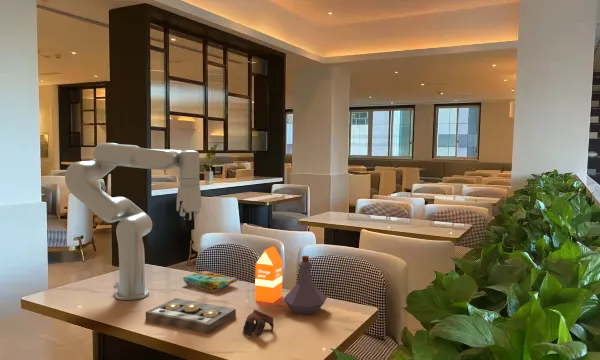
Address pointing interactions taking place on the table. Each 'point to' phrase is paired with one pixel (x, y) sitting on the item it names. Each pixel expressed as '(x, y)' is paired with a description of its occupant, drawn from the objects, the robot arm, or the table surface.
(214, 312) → the button
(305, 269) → the flask
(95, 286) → the table surface
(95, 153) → the robot arm
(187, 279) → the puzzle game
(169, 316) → the button board
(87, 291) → the table surface
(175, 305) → the button
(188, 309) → the button middle
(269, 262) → the orange juice
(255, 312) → the brown goggles
